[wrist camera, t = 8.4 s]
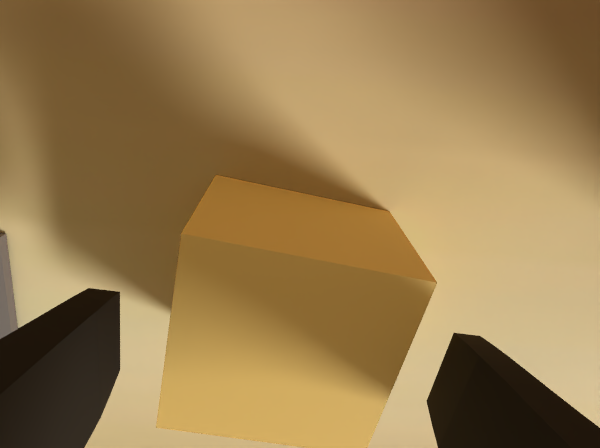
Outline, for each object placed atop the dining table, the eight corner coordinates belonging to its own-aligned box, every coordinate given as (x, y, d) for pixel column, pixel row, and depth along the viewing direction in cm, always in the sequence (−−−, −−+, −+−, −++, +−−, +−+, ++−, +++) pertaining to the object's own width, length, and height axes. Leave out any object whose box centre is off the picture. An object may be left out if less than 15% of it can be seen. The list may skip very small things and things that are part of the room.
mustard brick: (342, 345, 13) (364, 455, 10) (193, 320, 13) (156, 427, 9) (388, 209, 11) (437, 282, 8) (216, 173, 11) (181, 233, 7)
